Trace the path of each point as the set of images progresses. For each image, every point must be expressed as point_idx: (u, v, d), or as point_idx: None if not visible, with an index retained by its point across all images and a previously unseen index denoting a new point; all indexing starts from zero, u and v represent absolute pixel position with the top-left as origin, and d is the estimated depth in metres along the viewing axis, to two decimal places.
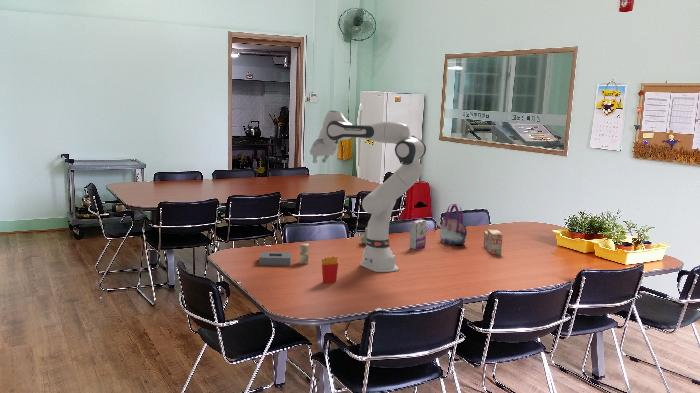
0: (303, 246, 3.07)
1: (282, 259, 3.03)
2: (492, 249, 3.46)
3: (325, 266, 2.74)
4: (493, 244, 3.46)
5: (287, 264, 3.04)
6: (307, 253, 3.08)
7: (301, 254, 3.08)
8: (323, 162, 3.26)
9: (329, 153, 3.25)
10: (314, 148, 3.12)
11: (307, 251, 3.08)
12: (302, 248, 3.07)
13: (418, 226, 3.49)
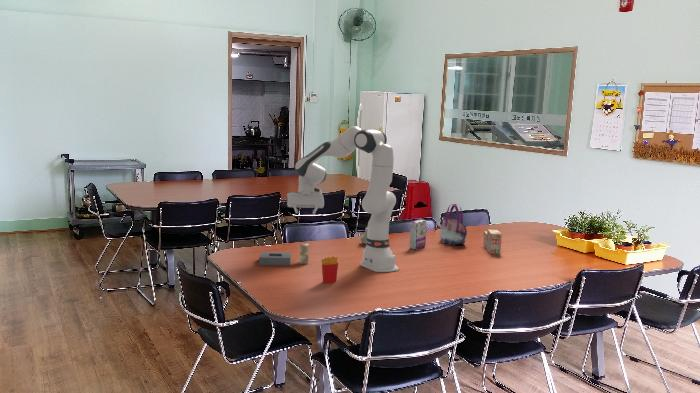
0: (303, 246, 3.07)
1: (282, 259, 3.03)
2: (491, 249, 3.47)
3: (325, 266, 2.74)
4: (493, 244, 3.46)
5: (287, 264, 3.04)
6: (307, 253, 3.08)
7: (301, 254, 3.08)
8: None
9: (314, 202, 3.21)
10: None
11: (307, 251, 3.08)
12: (302, 248, 3.07)
13: (418, 226, 3.49)
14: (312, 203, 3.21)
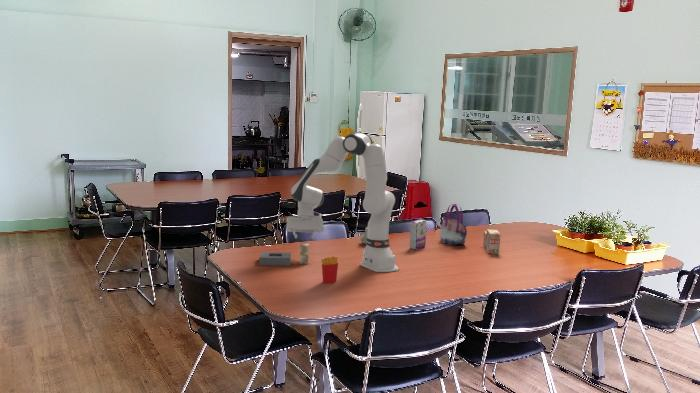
0: (303, 246, 3.07)
1: (282, 259, 3.03)
2: (490, 249, 3.47)
3: (325, 266, 2.74)
4: (491, 243, 3.46)
5: (287, 264, 3.04)
6: (307, 253, 3.08)
7: (301, 254, 3.08)
8: (312, 237, 3.16)
9: (313, 226, 3.18)
10: (287, 223, 3.20)
11: (307, 251, 3.08)
12: (302, 248, 3.07)
13: (418, 226, 3.49)
14: (311, 228, 3.18)
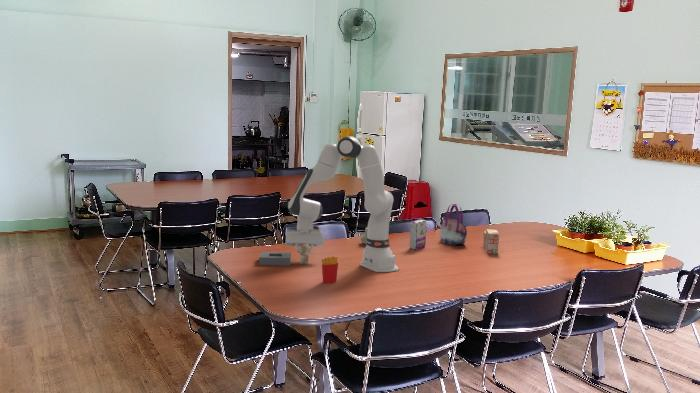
0: (303, 246, 3.07)
1: (282, 259, 3.03)
2: (488, 248, 3.47)
3: (325, 266, 2.74)
4: (490, 243, 3.47)
5: (287, 264, 3.04)
6: (307, 253, 3.08)
7: (301, 254, 3.08)
8: None
9: (313, 240, 3.11)
10: (286, 237, 3.13)
11: (307, 251, 3.08)
12: (302, 248, 3.07)
13: (418, 226, 3.49)
14: (311, 242, 3.11)
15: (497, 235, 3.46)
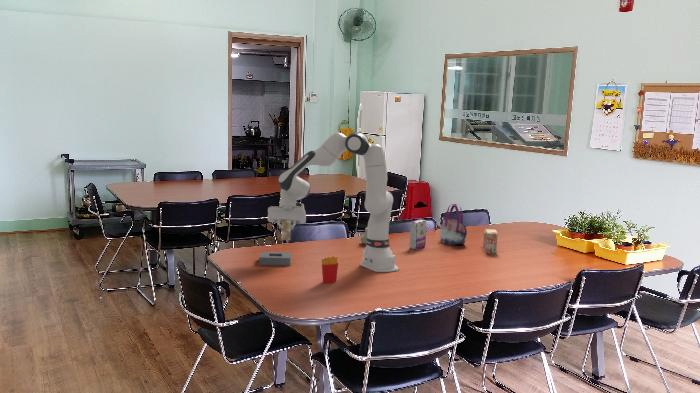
0: (285, 222, 3.05)
1: (282, 259, 3.03)
2: (487, 248, 3.48)
3: (325, 266, 2.74)
4: (488, 243, 3.47)
5: (287, 264, 3.04)
6: (289, 229, 3.06)
7: (283, 230, 3.06)
8: None
9: (295, 217, 3.09)
10: (268, 213, 3.11)
11: (289, 227, 3.06)
12: (284, 224, 3.05)
13: (418, 226, 3.49)
14: (293, 218, 3.09)
15: (495, 235, 3.46)
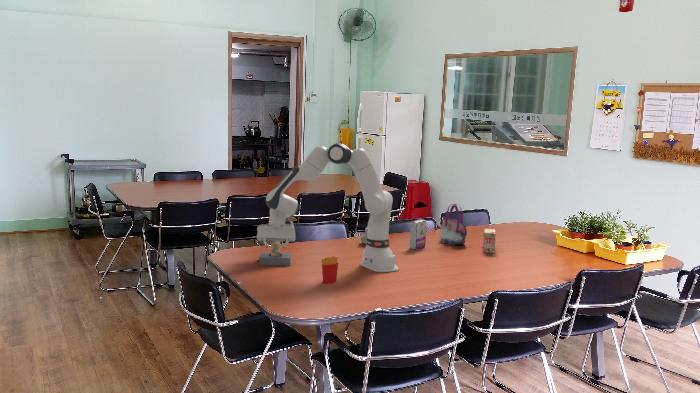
0: (274, 243, 3.06)
1: (282, 259, 3.03)
2: (485, 248, 3.49)
3: (325, 266, 2.74)
4: (486, 243, 3.48)
5: (287, 264, 3.04)
6: (278, 250, 3.07)
7: (272, 251, 3.07)
8: (283, 246, 3.08)
9: (285, 235, 3.10)
10: (257, 232, 3.12)
11: (278, 248, 3.07)
12: (273, 245, 3.06)
13: (418, 226, 3.49)
14: (283, 236, 3.10)
15: (494, 235, 3.47)
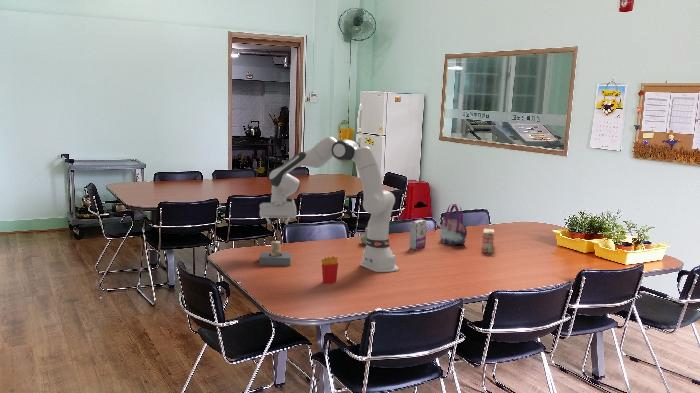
0: (274, 243, 3.06)
1: (282, 259, 3.03)
2: (483, 247, 3.49)
3: (325, 266, 2.74)
4: (485, 242, 3.49)
5: (287, 264, 3.04)
6: (278, 250, 3.07)
7: (272, 251, 3.07)
8: (285, 222, 3.19)
9: (286, 212, 3.21)
10: (260, 209, 3.23)
11: (278, 248, 3.07)
12: (273, 245, 3.06)
13: (418, 226, 3.49)
14: (284, 213, 3.21)
15: (492, 234, 3.47)
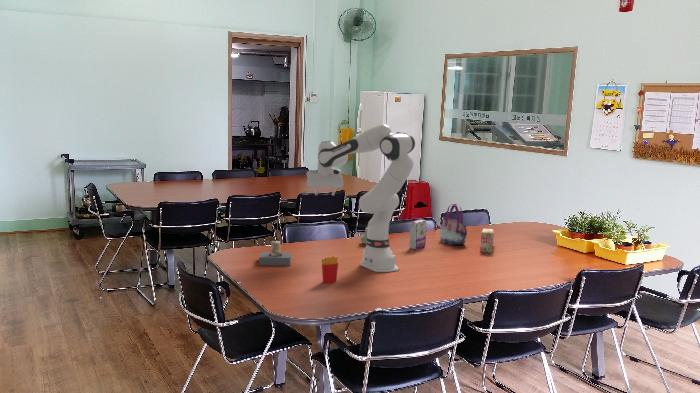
0: (274, 243, 3.06)
1: (282, 259, 3.03)
2: (481, 247, 3.50)
3: (325, 266, 2.74)
4: (483, 242, 3.50)
5: (287, 264, 3.04)
6: (278, 250, 3.07)
7: (272, 251, 3.07)
8: None
9: (333, 185, 3.26)
10: (307, 179, 3.26)
11: (278, 248, 3.07)
12: (273, 245, 3.06)
13: (418, 226, 3.49)
14: (331, 186, 3.26)
15: (490, 234, 3.48)
